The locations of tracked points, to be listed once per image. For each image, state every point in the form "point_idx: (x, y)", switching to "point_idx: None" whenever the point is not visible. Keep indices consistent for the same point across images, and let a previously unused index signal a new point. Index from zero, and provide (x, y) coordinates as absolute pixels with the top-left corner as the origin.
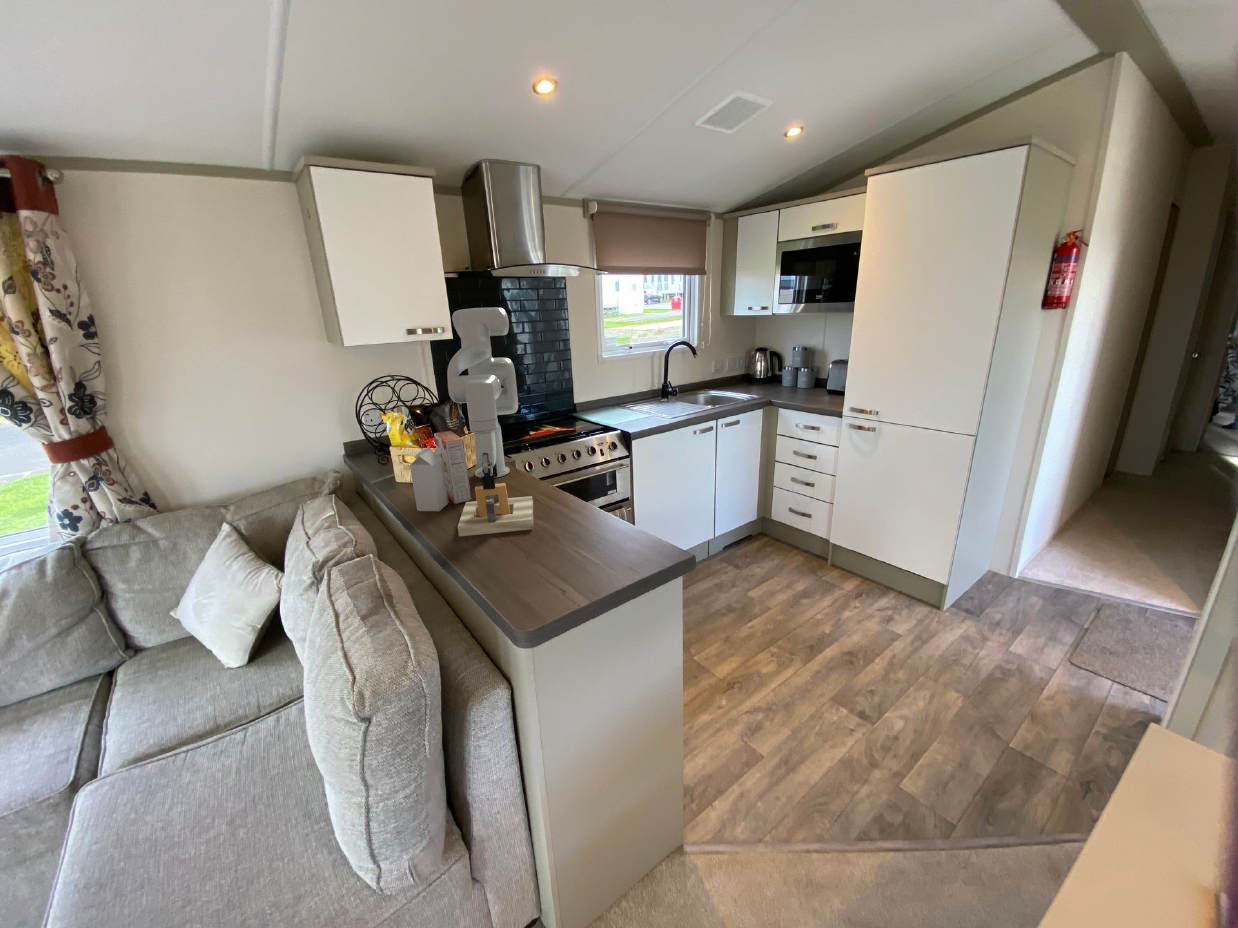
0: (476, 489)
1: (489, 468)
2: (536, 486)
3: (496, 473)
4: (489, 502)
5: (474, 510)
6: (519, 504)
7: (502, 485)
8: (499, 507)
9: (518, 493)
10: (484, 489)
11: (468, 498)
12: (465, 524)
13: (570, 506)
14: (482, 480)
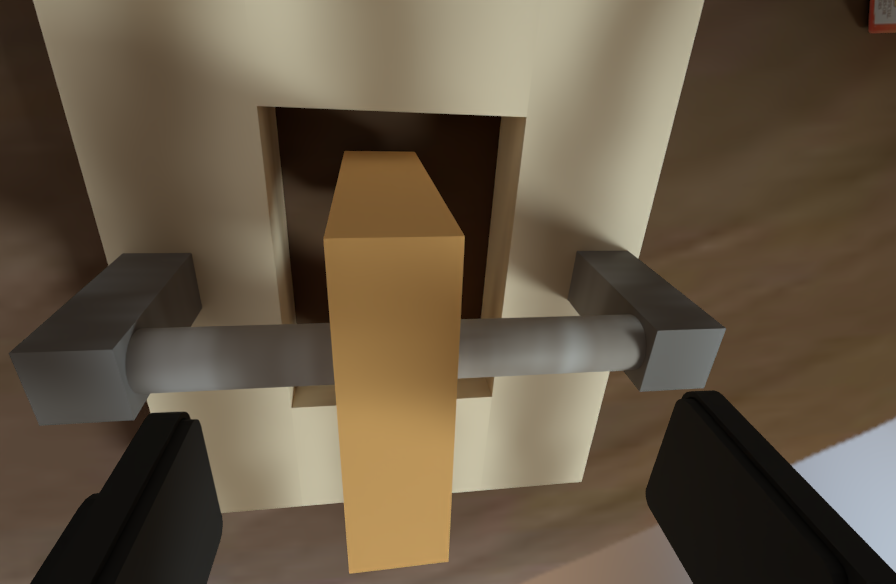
0: (326, 261)
1: (757, 559)
2: (825, 431)
3: (667, 538)
4: (70, 385)
5: (445, 108)
6: (463, 430)
7: (367, 548)
8: (498, 296)
9: (784, 353)
10: (157, 419)
11: (888, 6)
12: (76, 35)
13: (471, 576)
14: (63, 558)
